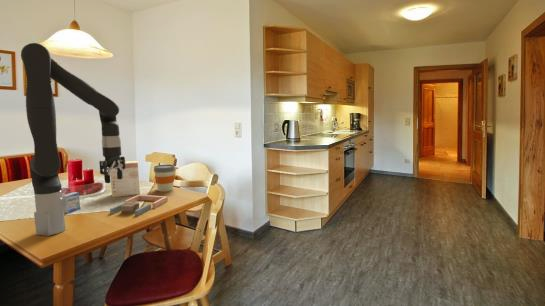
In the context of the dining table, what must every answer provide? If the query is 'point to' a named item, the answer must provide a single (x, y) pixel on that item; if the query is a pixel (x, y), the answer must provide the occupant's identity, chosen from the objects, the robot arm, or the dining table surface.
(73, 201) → the medicine box
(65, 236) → the dining table surface
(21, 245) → the dining table surface
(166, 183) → the reusable coffee cup
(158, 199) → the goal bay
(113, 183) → the coffeecake box
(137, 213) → the channel
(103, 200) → the dining table surface
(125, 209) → the walnut block
